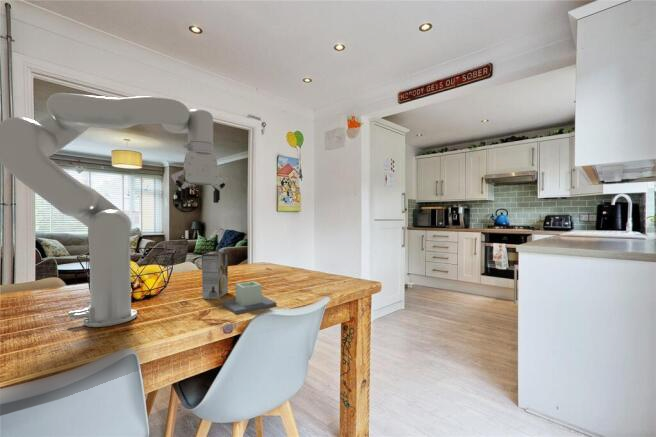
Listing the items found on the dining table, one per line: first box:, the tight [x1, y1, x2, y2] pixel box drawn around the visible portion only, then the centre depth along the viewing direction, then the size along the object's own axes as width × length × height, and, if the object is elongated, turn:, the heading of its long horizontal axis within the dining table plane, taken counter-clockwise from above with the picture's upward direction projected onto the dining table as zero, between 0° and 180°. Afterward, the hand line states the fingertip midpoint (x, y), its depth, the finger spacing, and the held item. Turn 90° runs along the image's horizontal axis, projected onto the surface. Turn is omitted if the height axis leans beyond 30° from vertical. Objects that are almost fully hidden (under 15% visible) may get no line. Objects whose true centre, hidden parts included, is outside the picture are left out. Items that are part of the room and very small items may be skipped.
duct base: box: [221, 295, 277, 315], centre depth 101 cm, size 14×12×6 cm
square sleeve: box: [235, 281, 263, 306], centre depth 101 cm, size 6×6×6 cm
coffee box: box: [201, 250, 229, 300], centre depth 113 cm, size 9×6×16 cm
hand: (201, 202), depth 99 cm, fingers open, 9 cm apart
